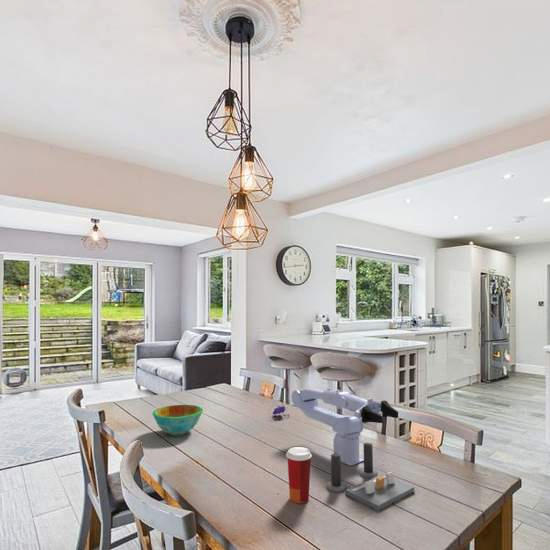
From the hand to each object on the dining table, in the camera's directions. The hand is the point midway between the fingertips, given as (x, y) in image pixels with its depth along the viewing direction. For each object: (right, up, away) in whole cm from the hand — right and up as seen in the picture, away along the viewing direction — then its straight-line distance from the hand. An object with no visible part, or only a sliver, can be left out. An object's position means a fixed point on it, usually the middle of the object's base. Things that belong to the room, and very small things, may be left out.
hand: (390, 417), depth 131 cm
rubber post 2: (-6, -21, +3) cm, 22 cm away
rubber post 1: (-19, -20, -7) cm, 29 cm away
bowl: (-83, -24, +46) cm, 98 cm away
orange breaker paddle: (-6, -18, -10) cm, 22 cm away
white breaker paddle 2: (-2, -18, -8) cm, 20 cm away
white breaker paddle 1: (-10, -18, -14) cm, 24 cm away
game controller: (-35, -26, +72) cm, 84 cm away
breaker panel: (-6, -20, -11) cm, 23 cm away
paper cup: (-31, -20, -14) cm, 40 cm away
